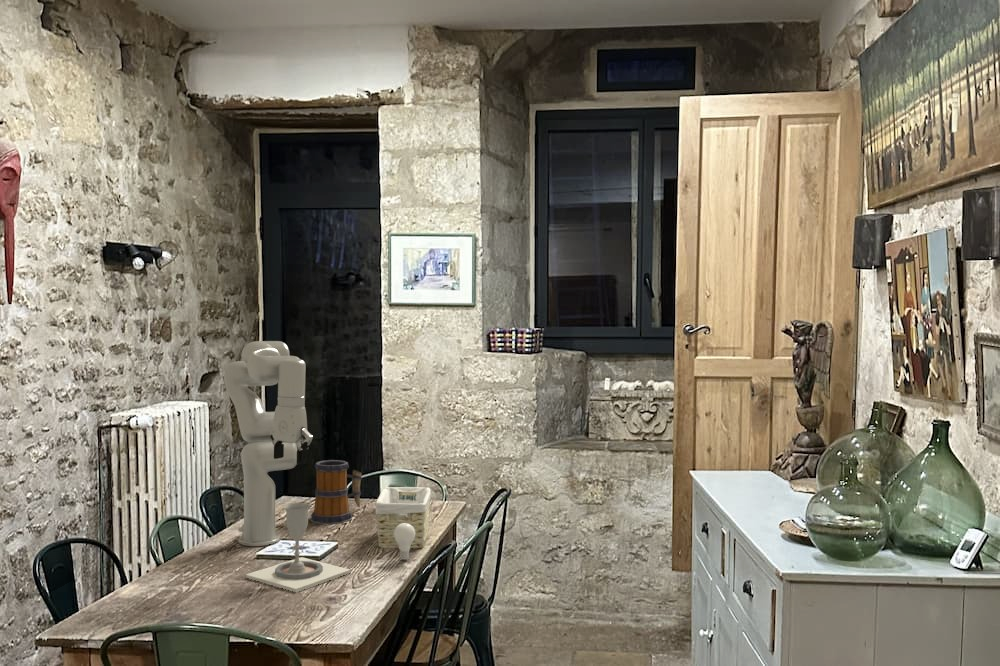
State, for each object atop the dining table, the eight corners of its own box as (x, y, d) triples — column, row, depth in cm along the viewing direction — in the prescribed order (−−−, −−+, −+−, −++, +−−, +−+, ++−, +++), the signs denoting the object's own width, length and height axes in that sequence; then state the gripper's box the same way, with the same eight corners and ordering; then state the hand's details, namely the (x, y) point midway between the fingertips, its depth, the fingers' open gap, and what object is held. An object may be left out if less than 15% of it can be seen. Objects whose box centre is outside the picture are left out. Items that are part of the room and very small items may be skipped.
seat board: (245, 578, 224) (245, 570, 224) (301, 560, 240) (301, 553, 240) (296, 592, 213) (296, 584, 213) (351, 573, 229) (351, 565, 229)
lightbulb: (393, 557, 245) (394, 520, 244) (415, 557, 245) (415, 520, 245) (392, 563, 238) (393, 526, 238) (414, 563, 239) (415, 525, 239)
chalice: (302, 575, 223) (303, 509, 222) (279, 573, 224) (279, 508, 224) (313, 567, 230) (314, 503, 229) (291, 565, 231) (291, 502, 231)
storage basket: (425, 550, 253) (426, 502, 252) (373, 550, 252) (373, 502, 252) (431, 530, 277) (431, 486, 276) (383, 529, 276) (383, 486, 276)
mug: (349, 510, 303) (350, 456, 302) (371, 517, 292) (372, 461, 292) (302, 518, 290) (303, 462, 289) (323, 526, 279) (324, 468, 279)
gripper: (261, 399, 237) (259, 458, 238) (301, 407, 227) (300, 467, 229) (281, 397, 243) (280, 454, 244) (322, 404, 234) (320, 463, 235)
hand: (289, 460), depth 236 cm, fingers open, 9 cm apart
